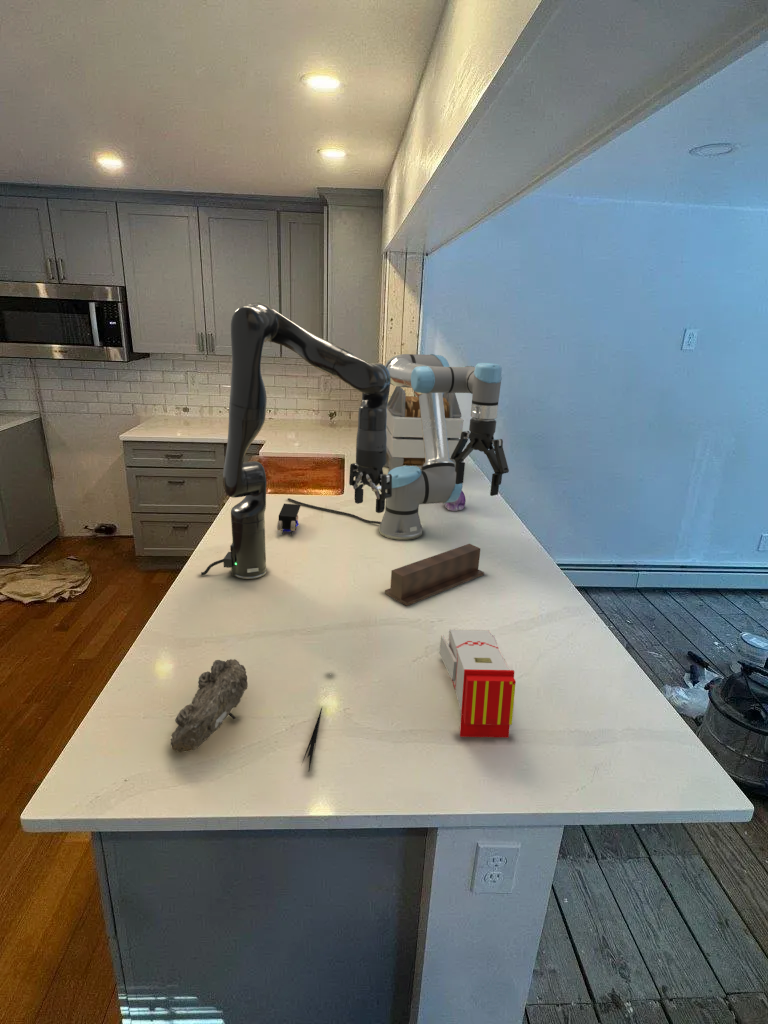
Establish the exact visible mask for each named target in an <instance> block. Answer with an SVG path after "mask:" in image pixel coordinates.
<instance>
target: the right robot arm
mask: <svg viewBox="0 0 768 1024" xmlns="http://www.w3.org/2000/svg"><path fill="white" fill-rule="evenodd" d="M384 366H385V367H386V368H387V369H388V371H389V373H390V385H392V386H394V387H396V386H398V387H401V388H407V389H408V388H411V389H412V390H413V395H414V396H415V397H416V396H417V397H418V398H419V405H420V414H421V424H422V434H423V443H424V453H425V463H424V465H423V466H421V467H420V466H406V465H404V466H400V467H396V468H394V469H392V470H390V471H389V470H388V472H387V474H391V475H392V497H390V498H386V499H385V509H384V512H383V515H382V519H381V521H379V520H378V521H377V520H369V519H365V518H362V517H360V516H358V515H356V514H353V513H349V512H346V511H340V510H336V509H330V508H326V507H321V506H317V505H312V504H308V503H305V502H301V501H299V500H295V499H292V498H289V497H288V498H287V501H290V502H292V503H294V504H297V505H300V506H305V507H308V508H312V509H316V510H321V511H326V512H329V513H330V512H331V513H334V514H335V513H336V514H340V515H344V516H349V517H352V518H354V519H358V520H359V521H362V522H365V523H367V524H376V525H378V533H379V534H380V535H381V536H382V537H385V538H387V539H389V540H395V541H410V540H415V539H418V538H420V537H421V536H422V535H423V525H422V524H421V518H420V515H419V507H420V505H429V504H430V505H431V504H443V505H445V503H449V502H454V501H456V500H457V499H458V498H459V496H460V493H461V491H463V485H464V481H465V479H464V478H465V469H466V462H465V460H466V458H467V457H468V456H469V455H470V454H471V453H472V452H473V451H479V452H481V453H483V454H484V455H485V456H486V457H487V460H488V462H489V463H490V466H491V468H492V470H493V472H494V473H492V475H491V483H490V492H489V496H491V497H493V496H498V495H499V490H500V486H501V484H502V482H503V481H502V480H503V479H502V478H503V475H504V474H507V473H509V472H510V469H509V466H508V461H507V458H506V454H505V450H504V440H503V438H498V439H497V438H494V435H495V433H496V429H497V420H496V419H497V418H498V412H499V411H498V410H499V401H500V392H501V386H502V379H503V377H502V371H503V368H502V365H501V364H499V363H492V362H477V363H476V365H475V366H473V365H462V366H450V364H449V362H448V360H447V358H446V357H444V356H443V355H440V354H435V353H434V354H433V353H430V354H422V353H421V354H420V353H419V354H418V353H417V354H416V353H415V354H414V353H402V354H397V355H394V356H392V357H391V358H389V360H388V361H387V362H386V363H385V365H384ZM444 393H455V394H471V396H472V399H471V408H470V417H471V418H470V419H469V426H468V430H465V431H464V430H463V432H461V437H460V438H459V439H460V440H459V442H458V444H457V446H456V448H455V450H454V452H453V453H452V455H451V459H454V460H455V462H456V468H455V465H454V463H453V462H452V461H451V460H450V459H449V450H448V441H447V432H446V422H445V413H444V404H443V394H444ZM468 441H469V442H468ZM386 493H387V489H386Z"/></svg>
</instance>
